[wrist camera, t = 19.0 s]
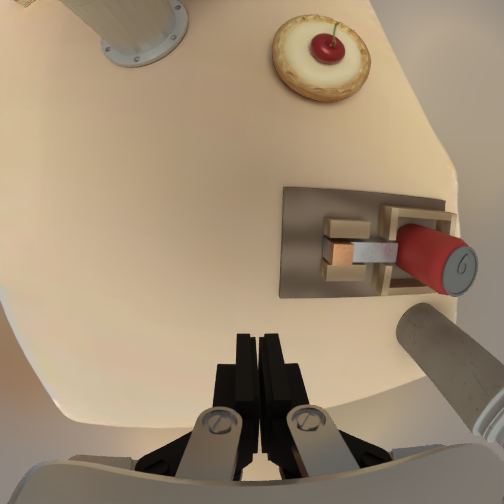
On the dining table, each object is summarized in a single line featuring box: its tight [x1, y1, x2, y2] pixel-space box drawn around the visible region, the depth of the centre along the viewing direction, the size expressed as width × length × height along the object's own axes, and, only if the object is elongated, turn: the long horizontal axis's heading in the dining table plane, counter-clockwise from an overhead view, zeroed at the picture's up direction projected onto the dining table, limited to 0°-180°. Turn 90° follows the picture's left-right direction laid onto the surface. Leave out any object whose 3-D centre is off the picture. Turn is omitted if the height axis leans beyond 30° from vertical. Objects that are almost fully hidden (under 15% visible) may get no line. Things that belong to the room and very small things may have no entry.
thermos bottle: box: [396, 303, 504, 448], centre depth 26 cm, size 8×8×28 cm
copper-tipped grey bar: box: [322, 237, 398, 266], centre depth 33 cm, size 2×9×4 cm, turn 89°
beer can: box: [393, 224, 478, 297], centre depth 30 cm, size 7×7×12 cm
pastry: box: [272, 15, 371, 102], centre depth 27 cm, size 12×12×9 cm
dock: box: [279, 187, 457, 298], centre depth 34 cm, size 14×24×4 cm, turn 89°
